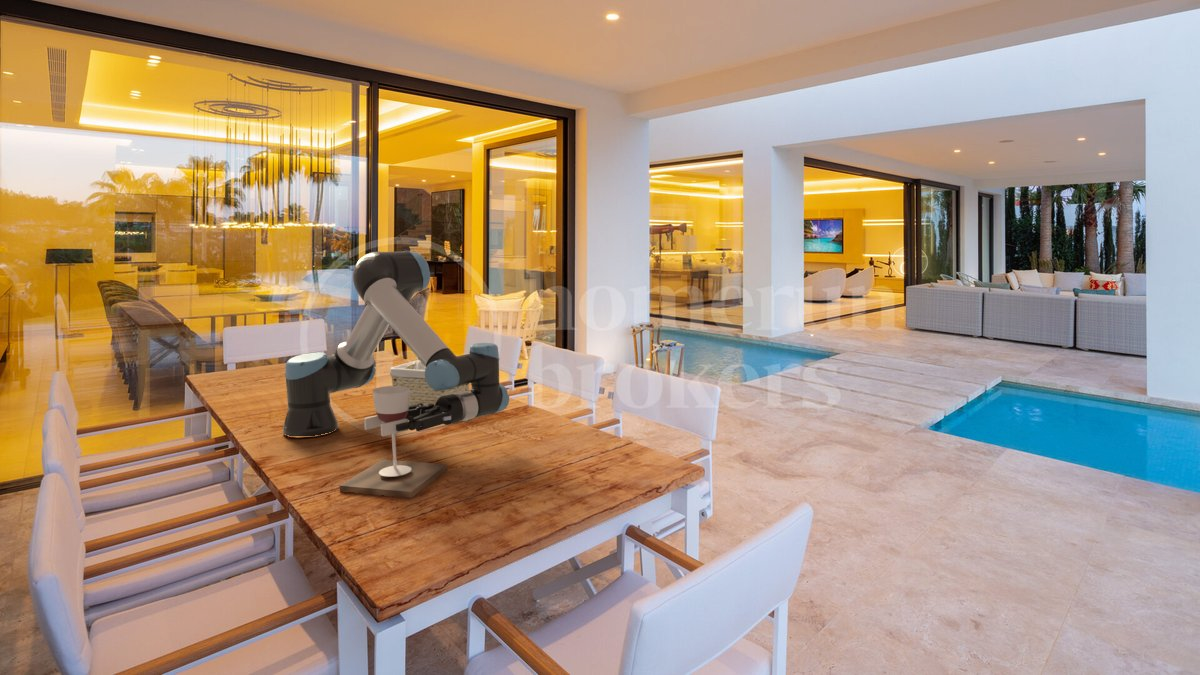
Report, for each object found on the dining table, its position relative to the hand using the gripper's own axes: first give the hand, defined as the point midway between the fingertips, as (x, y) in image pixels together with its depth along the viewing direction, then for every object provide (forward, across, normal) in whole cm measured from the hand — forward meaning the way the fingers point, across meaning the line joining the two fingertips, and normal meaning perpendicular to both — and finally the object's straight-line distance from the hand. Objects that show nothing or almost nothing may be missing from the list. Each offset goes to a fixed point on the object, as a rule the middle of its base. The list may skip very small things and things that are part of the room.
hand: (373, 427), depth 145 cm
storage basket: (-51, +54, -15) cm, 76 cm away
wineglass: (-5, 0, -12) cm, 13 cm away
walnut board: (-5, 0, -14) cm, 15 cm away
